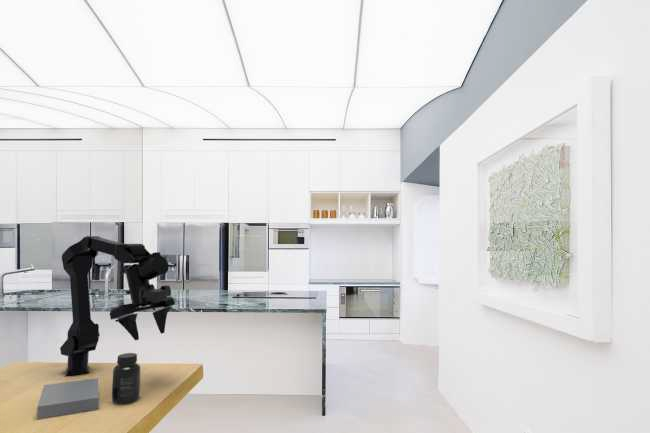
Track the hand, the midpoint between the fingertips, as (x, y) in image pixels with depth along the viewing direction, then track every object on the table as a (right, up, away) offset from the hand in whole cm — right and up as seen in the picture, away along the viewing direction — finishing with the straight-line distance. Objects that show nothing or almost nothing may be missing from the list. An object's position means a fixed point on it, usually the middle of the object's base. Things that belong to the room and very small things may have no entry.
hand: (150, 336), depth 119 cm
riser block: (-17, -15, -10) cm, 25 cm away
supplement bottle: (-3, -15, -8) cm, 17 cm away
